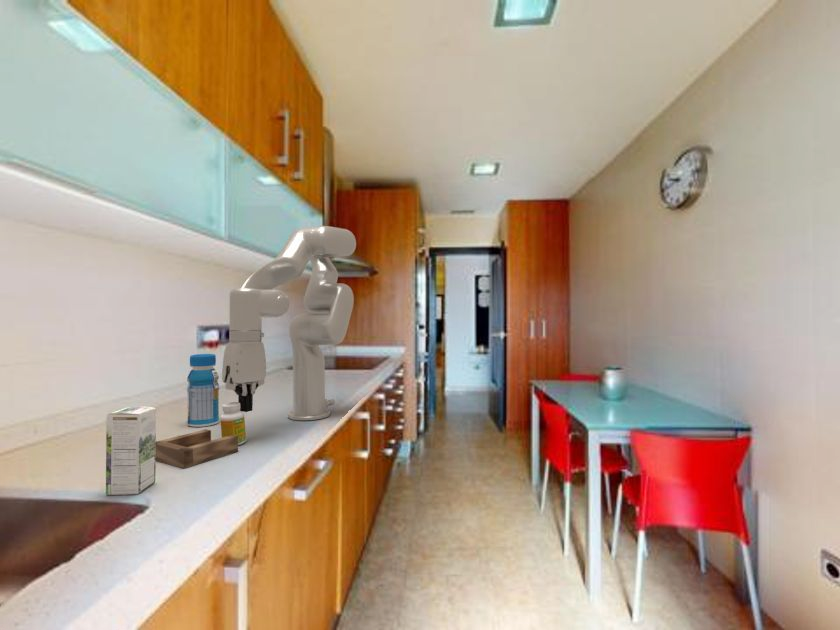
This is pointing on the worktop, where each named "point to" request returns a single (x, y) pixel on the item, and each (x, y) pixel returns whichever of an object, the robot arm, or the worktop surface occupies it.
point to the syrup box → (130, 450)
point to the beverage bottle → (203, 391)
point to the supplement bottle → (233, 421)
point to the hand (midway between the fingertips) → (245, 410)
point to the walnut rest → (194, 448)
